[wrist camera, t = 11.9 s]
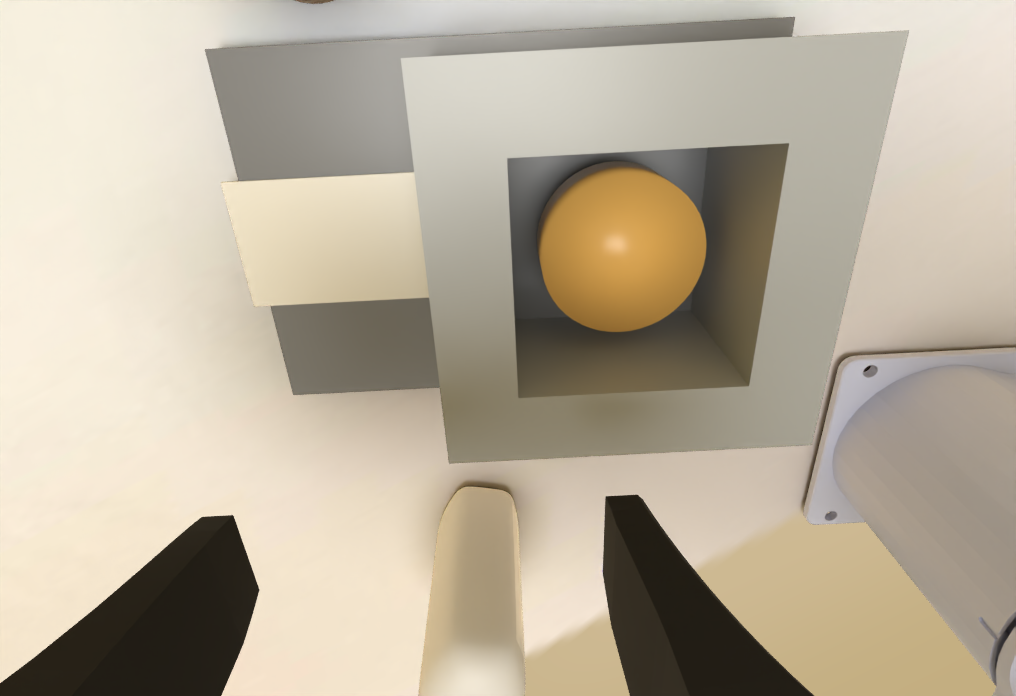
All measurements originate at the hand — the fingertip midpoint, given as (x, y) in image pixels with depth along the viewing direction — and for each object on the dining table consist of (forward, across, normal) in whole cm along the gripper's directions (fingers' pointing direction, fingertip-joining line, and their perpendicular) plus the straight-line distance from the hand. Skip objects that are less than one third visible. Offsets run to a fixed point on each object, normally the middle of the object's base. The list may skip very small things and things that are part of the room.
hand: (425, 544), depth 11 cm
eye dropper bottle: (+11, 0, +10) cm, 15 cm away
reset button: (+8, -5, -3) cm, 10 cm away
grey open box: (+10, -2, -3) cm, 11 cm away
